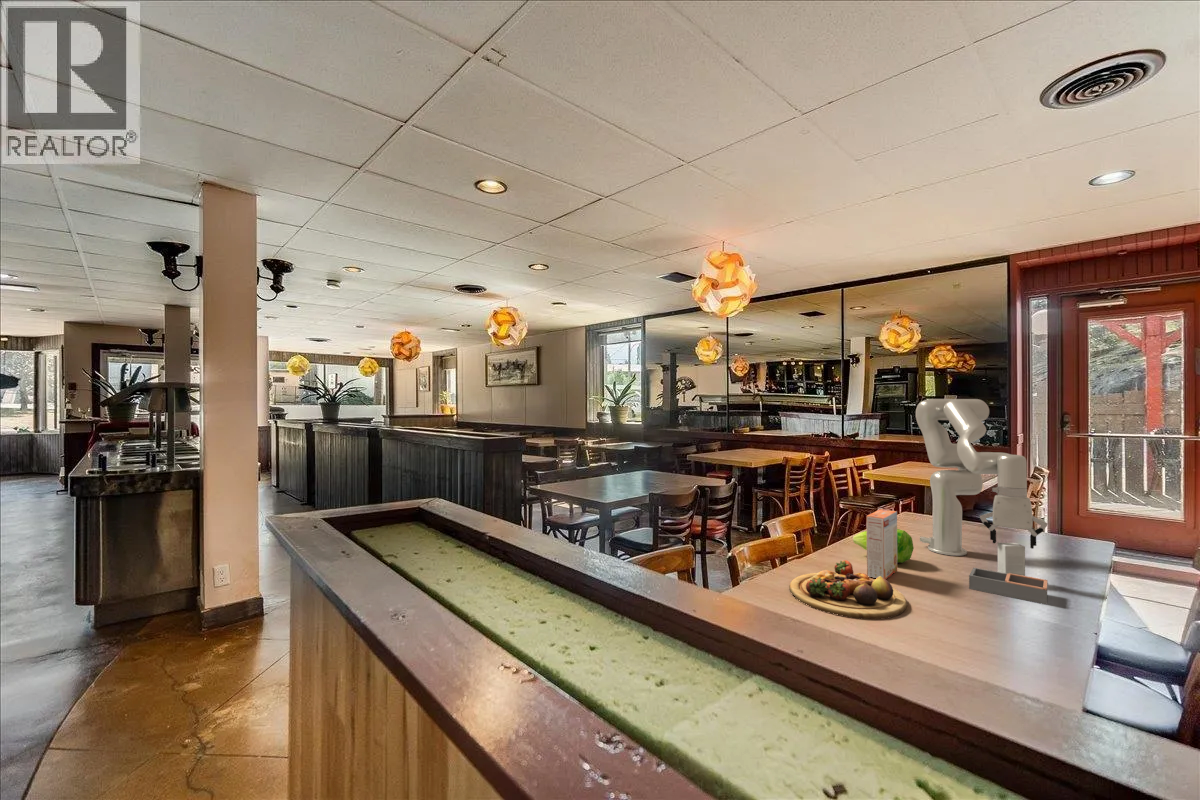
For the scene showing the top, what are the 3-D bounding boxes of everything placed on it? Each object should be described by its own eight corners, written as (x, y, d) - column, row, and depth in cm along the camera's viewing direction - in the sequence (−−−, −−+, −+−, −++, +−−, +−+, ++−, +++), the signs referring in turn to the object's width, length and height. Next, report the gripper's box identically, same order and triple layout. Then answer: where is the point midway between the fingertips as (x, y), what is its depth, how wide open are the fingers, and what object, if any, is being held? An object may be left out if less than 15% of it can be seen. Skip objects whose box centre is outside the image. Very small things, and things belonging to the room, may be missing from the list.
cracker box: (879, 567, 182) (879, 508, 182) (898, 571, 178) (898, 511, 178) (865, 577, 172) (865, 514, 172) (884, 581, 168) (885, 517, 168)
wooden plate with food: (808, 572, 178) (807, 548, 178) (915, 593, 158) (915, 566, 158) (773, 602, 154) (773, 575, 153) (895, 632, 133) (895, 601, 133)
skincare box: (1016, 578, 171) (1016, 542, 171) (1025, 583, 167) (1025, 546, 167) (996, 578, 172) (996, 542, 172) (1005, 582, 168) (1005, 545, 168)
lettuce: (859, 549, 203) (859, 519, 203) (918, 561, 189) (918, 528, 189) (847, 557, 193) (847, 525, 193) (908, 570, 179) (909, 536, 179)
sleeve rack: (969, 588, 162) (969, 574, 162) (973, 580, 170) (973, 566, 170) (1046, 604, 150) (1046, 589, 150) (1047, 594, 157) (1047, 580, 157)
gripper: (978, 491, 172) (978, 542, 172) (1046, 496, 161) (1047, 552, 160) (980, 488, 178) (981, 538, 177) (1047, 494, 166) (1048, 547, 166)
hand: (1012, 545), depth 169 cm, fingers open, 9 cm apart
